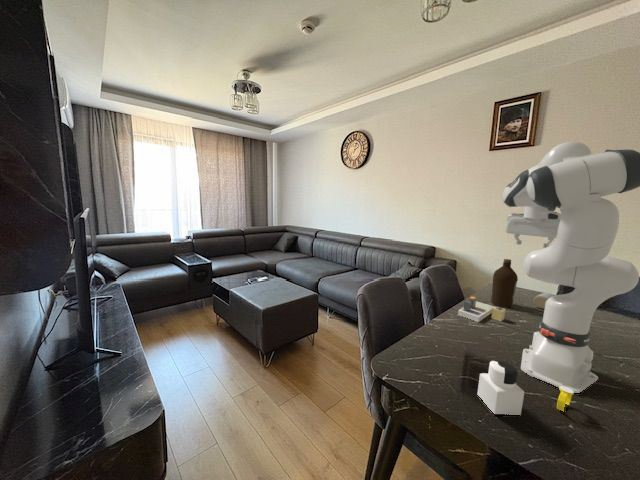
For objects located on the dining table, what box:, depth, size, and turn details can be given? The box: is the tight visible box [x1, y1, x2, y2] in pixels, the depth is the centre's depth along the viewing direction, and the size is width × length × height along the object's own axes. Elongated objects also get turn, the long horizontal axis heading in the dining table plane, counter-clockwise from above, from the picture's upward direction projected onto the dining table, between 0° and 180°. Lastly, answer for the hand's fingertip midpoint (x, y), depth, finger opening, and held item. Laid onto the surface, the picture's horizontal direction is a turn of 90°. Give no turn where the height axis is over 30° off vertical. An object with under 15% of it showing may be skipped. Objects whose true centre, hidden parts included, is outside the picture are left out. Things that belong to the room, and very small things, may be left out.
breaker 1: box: [463, 299, 472, 311], centre depth 123 cm, size 3×2×4 cm, turn 128°
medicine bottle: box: [476, 359, 525, 416], centre depth 67 cm, size 7×7×12 cm
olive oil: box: [490, 258, 519, 309], centre depth 136 cm, size 11×11×25 cm
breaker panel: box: [457, 300, 495, 323], centre depth 125 cm, size 20×9×3 cm, turn 128°
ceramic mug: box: [533, 292, 555, 310], centre depth 132 cm, size 11×8×8 cm
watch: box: [556, 386, 575, 413], centre depth 67 cm, size 6×3×6 cm, turn 122°
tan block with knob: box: [490, 306, 506, 322], centre depth 120 cm, size 4×4×6 cm
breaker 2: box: [468, 296, 477, 308], centre depth 126 cm, size 3×2×5 cm, turn 128°
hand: (531, 246), depth 110 cm, fingers open, 8 cm apart
